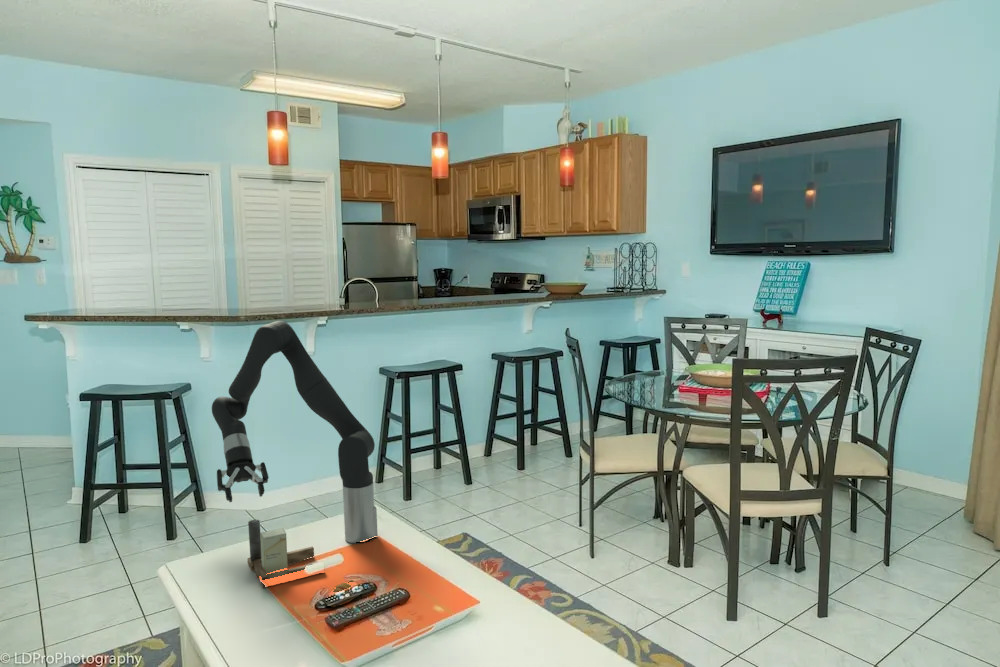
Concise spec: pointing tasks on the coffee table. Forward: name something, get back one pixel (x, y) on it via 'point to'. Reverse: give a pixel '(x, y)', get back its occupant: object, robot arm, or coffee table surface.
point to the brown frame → (255, 554)
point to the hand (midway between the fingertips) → (246, 498)
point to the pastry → (342, 586)
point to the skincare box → (273, 550)
